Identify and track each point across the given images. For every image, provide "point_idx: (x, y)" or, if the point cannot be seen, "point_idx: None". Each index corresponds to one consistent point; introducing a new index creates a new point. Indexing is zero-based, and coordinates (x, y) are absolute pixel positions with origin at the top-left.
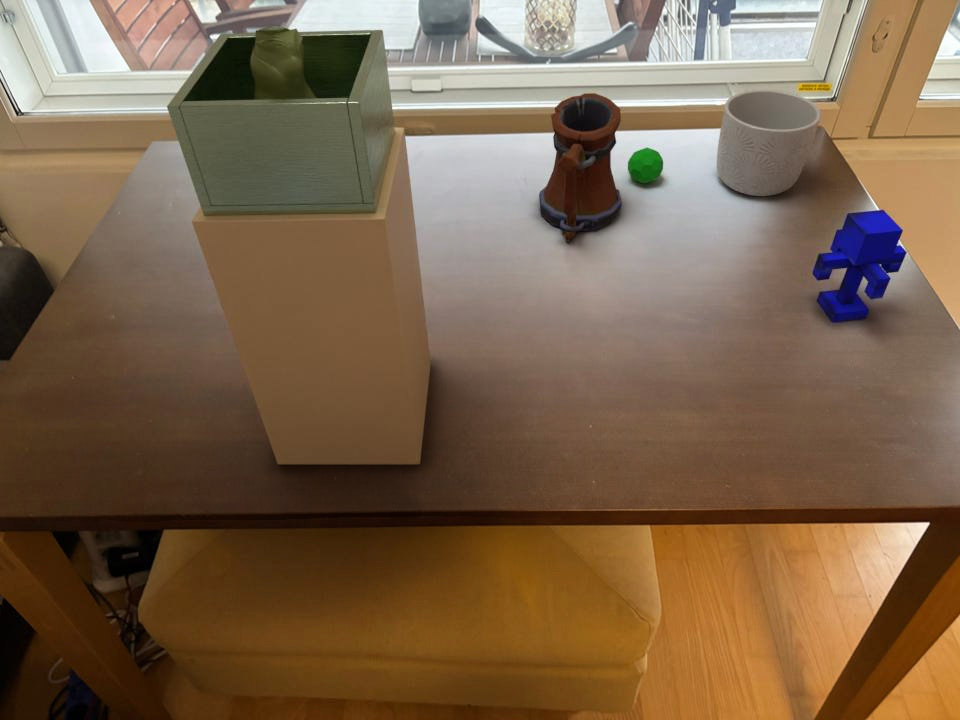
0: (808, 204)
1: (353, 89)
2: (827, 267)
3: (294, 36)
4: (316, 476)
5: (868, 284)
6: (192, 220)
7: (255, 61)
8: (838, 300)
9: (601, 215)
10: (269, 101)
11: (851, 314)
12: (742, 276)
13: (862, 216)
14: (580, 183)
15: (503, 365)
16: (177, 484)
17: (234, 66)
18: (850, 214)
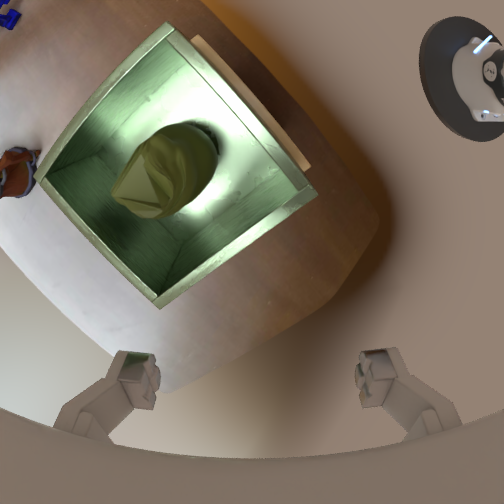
0: None
1: (145, 52)
2: (1, 19)
3: (126, 174)
4: (274, 109)
5: (4, 3)
6: (310, 166)
7: (187, 184)
8: (10, 20)
9: (17, 149)
10: (232, 101)
11: (15, 11)
12: (13, 64)
13: None
14: (9, 168)
15: None
16: (326, 167)
17: (168, 277)
18: None
